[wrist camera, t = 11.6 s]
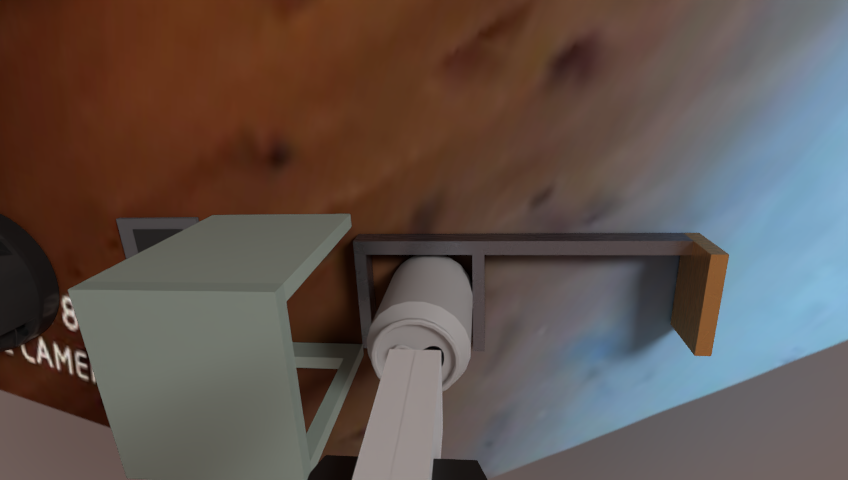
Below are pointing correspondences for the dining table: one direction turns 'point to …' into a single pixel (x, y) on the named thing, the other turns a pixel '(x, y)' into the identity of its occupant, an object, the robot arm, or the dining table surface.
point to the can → (425, 315)
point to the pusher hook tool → (695, 275)
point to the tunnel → (214, 350)
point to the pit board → (149, 231)
